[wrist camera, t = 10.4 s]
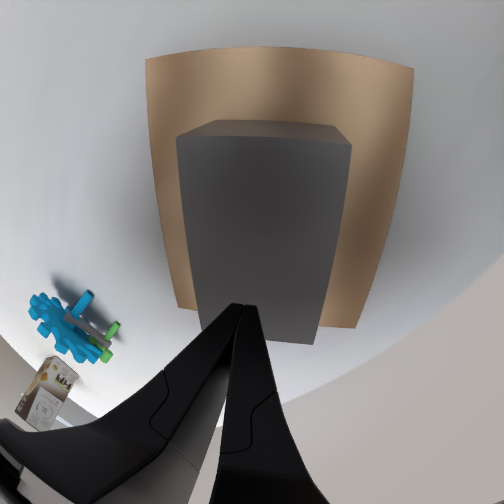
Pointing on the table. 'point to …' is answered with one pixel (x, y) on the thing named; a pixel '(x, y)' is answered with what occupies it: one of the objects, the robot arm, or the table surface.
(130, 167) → the table surface
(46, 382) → the coffee box
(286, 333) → the block
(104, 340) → the gear
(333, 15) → the table surface
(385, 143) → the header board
